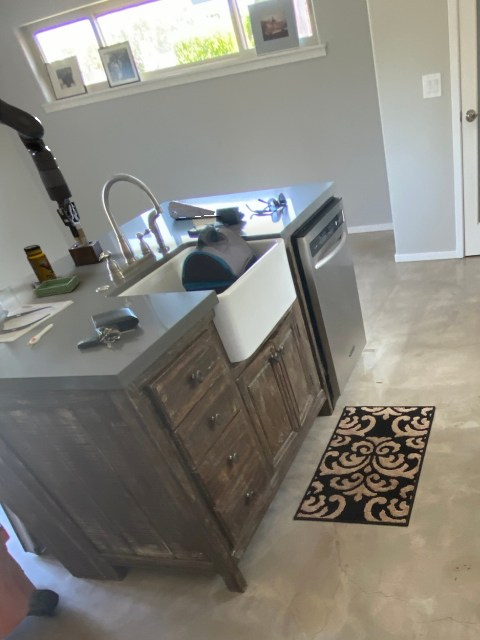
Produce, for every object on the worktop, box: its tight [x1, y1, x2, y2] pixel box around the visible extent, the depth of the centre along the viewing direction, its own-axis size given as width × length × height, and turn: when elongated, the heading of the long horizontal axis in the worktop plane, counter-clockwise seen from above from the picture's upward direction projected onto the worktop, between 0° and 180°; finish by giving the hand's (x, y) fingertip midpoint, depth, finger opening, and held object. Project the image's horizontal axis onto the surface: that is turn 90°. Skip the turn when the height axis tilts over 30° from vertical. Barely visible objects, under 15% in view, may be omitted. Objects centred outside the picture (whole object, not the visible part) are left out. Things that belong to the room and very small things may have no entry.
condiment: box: [23, 244, 59, 289], centre depth 183 cm, size 7×8×12 cm
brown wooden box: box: [67, 239, 104, 267], centre depth 202 cm, size 9×9×6 cm
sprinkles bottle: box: [67, 222, 90, 247], centre depth 200 cm, size 5×5×14 cm
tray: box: [33, 275, 80, 298], centre depth 178 cm, size 11×10×2 cm
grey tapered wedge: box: [167, 199, 216, 220], centre depth 242 cm, size 8×9×26 cm
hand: (78, 235), depth 198 cm, fingers closed on sprinkles bottle, 4 cm apart
